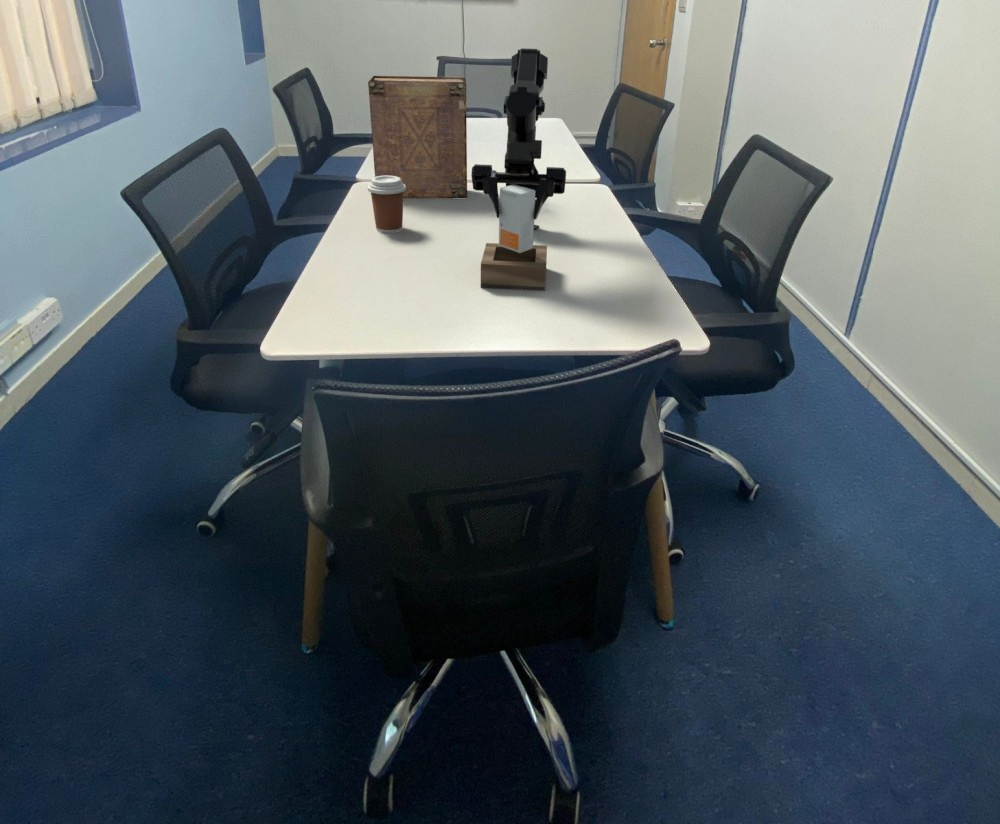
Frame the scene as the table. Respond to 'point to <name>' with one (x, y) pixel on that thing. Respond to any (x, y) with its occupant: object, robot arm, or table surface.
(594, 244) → the table surface
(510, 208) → the skincare box
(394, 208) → the coffee cup
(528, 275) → the socket block
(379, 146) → the book
